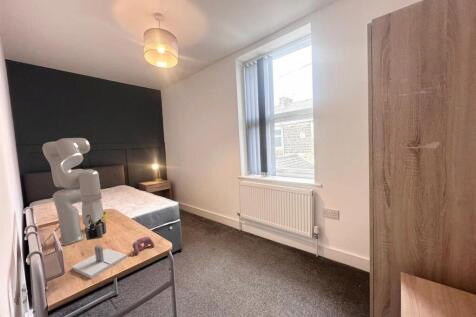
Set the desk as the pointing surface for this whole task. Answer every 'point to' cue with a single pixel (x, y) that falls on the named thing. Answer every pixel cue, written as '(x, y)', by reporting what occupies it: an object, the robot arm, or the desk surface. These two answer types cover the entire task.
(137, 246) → the video game controller
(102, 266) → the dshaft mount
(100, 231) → the grey u-shaped bracket
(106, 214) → the plant pot
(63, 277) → the desk surface
